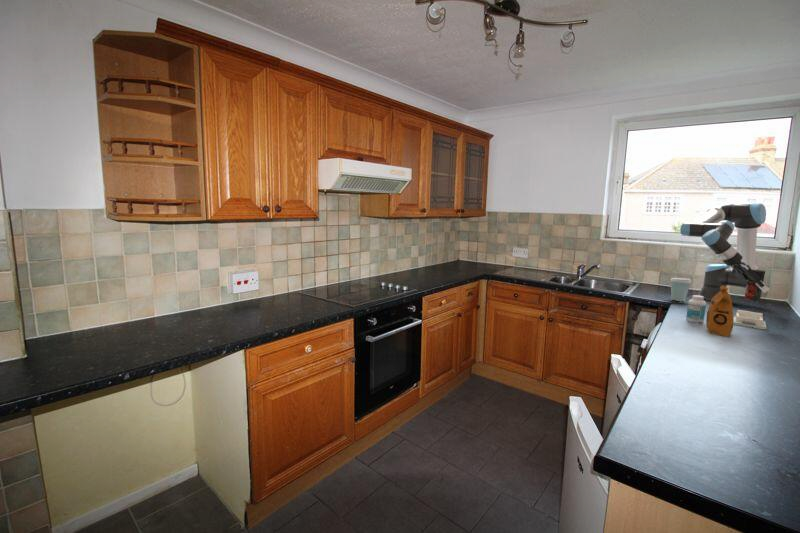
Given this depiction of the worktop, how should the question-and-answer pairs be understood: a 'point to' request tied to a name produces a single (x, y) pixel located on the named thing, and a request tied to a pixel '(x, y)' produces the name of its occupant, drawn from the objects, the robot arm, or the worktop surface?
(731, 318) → the coffee package
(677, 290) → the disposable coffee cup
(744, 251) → the robot arm
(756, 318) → the cream square open box
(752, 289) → the deodorant
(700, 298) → the pill bottle
